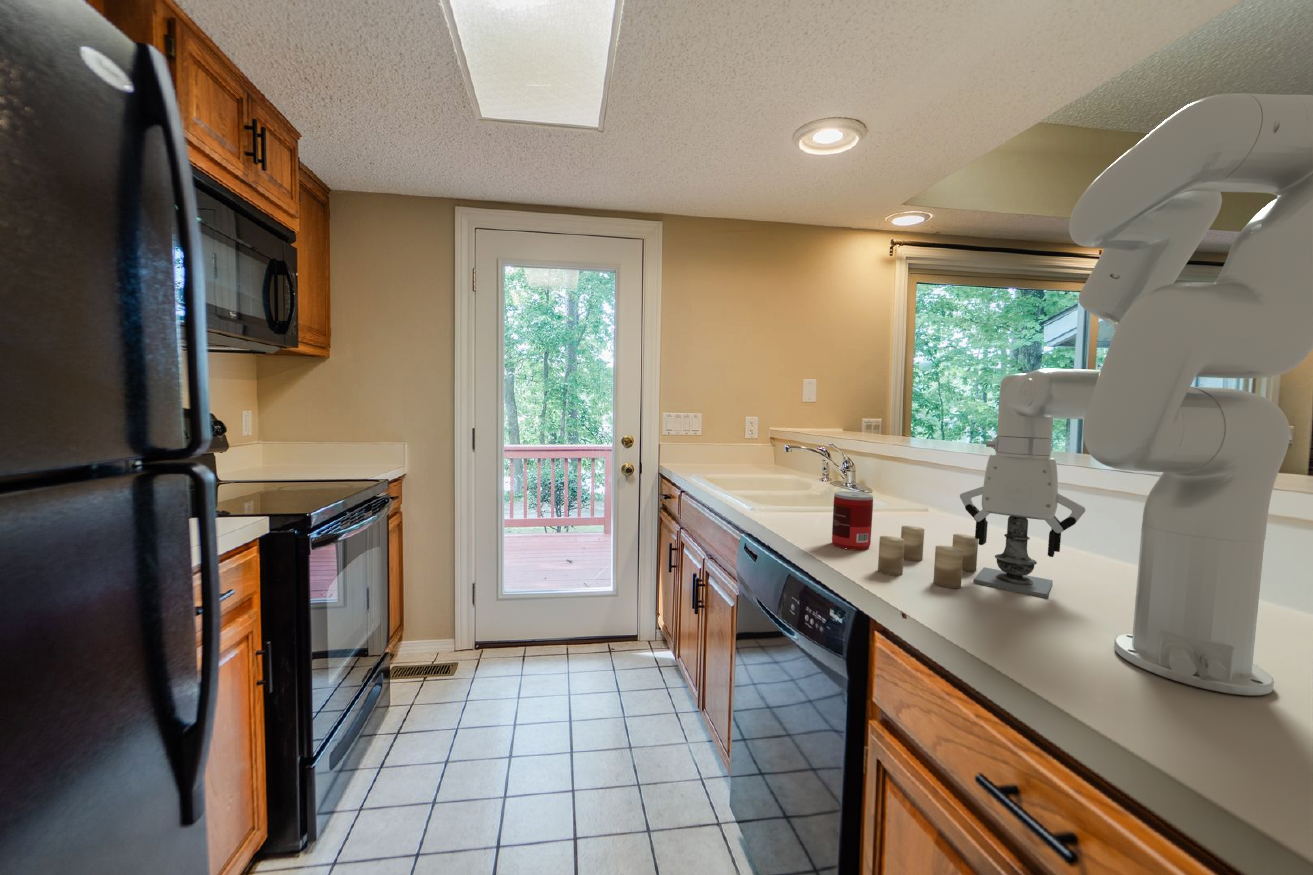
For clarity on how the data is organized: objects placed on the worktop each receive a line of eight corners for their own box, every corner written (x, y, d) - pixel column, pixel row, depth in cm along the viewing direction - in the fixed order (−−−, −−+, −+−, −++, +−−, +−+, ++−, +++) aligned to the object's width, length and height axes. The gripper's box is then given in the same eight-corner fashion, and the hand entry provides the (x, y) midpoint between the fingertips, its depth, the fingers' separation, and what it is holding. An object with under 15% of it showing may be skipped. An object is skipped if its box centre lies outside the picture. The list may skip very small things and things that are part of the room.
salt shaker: (1043, 583, 86) (1048, 511, 86) (1020, 586, 84) (1024, 513, 84) (1008, 573, 92) (1012, 505, 91) (985, 575, 90) (989, 506, 89)
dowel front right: (957, 589, 83) (959, 552, 83) (930, 583, 86) (932, 547, 86) (964, 585, 86) (966, 549, 86) (937, 579, 89) (939, 544, 89)
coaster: (1047, 598, 81) (1047, 594, 81) (973, 582, 88) (973, 579, 88) (1052, 583, 89) (1052, 580, 89) (983, 570, 95) (984, 567, 95)
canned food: (873, 545, 112) (876, 493, 111) (866, 552, 105) (869, 498, 104) (836, 539, 116) (839, 489, 115) (827, 546, 109) (830, 494, 108)
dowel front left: (898, 577, 89) (900, 542, 89) (874, 571, 92) (876, 538, 92) (905, 572, 92) (907, 538, 92) (881, 567, 95) (883, 534, 95)
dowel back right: (973, 573, 93) (976, 540, 93) (948, 568, 96) (950, 536, 96) (978, 568, 96) (980, 536, 96) (953, 563, 99) (955, 532, 99)
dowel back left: (919, 562, 99) (921, 531, 99) (897, 557, 102) (898, 527, 102) (924, 558, 102) (926, 528, 102) (903, 554, 105) (905, 524, 105)
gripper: (959, 445, 90) (952, 543, 91) (1089, 453, 79) (1080, 565, 80) (968, 444, 96) (961, 536, 96) (1090, 451, 84) (1082, 556, 85)
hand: (1015, 549), depth 88 cm, fingers open, 9 cm apart
